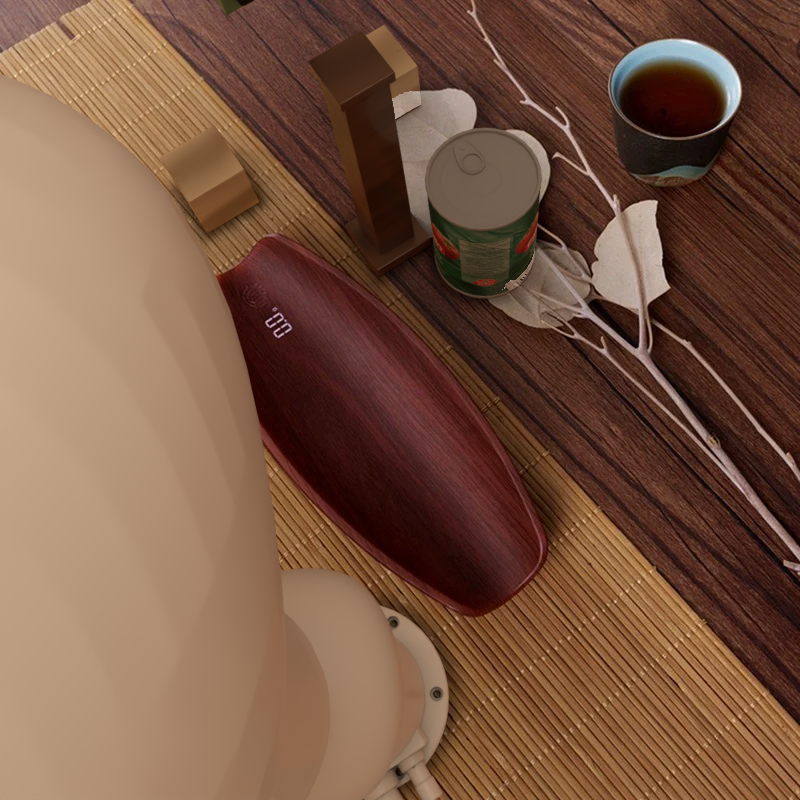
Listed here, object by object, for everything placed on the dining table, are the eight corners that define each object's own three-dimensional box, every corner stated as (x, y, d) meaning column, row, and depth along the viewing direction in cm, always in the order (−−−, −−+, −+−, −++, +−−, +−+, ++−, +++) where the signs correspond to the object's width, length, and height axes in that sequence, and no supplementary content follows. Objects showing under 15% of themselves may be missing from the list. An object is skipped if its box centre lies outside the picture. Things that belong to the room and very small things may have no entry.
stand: (431, 245, 73) (409, 73, 54) (379, 277, 73) (336, 117, 53) (398, 199, 75) (364, 17, 55) (346, 231, 74) (293, 59, 55)
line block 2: (422, 104, 78) (417, 65, 73) (372, 135, 77) (364, 97, 72) (390, 65, 79) (384, 24, 74) (341, 94, 79) (331, 55, 74)
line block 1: (259, 202, 76) (244, 169, 71) (207, 233, 76) (188, 202, 71) (230, 159, 78) (213, 124, 73) (179, 190, 77) (159, 156, 72)
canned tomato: (554, 269, 72) (564, 194, 61) (465, 316, 71) (461, 249, 61) (502, 192, 74) (504, 108, 64) (416, 237, 74) (404, 160, 63)
